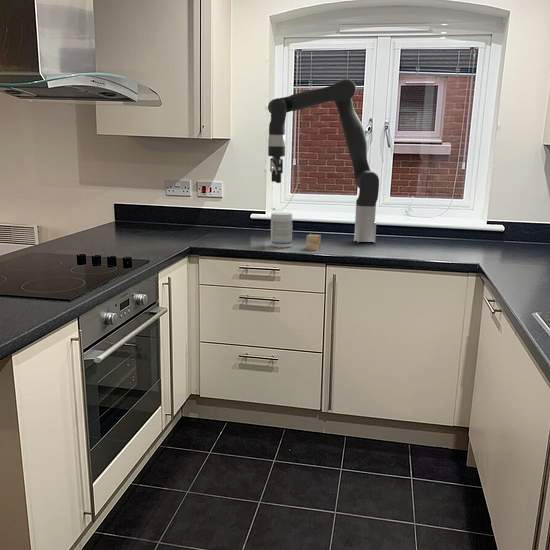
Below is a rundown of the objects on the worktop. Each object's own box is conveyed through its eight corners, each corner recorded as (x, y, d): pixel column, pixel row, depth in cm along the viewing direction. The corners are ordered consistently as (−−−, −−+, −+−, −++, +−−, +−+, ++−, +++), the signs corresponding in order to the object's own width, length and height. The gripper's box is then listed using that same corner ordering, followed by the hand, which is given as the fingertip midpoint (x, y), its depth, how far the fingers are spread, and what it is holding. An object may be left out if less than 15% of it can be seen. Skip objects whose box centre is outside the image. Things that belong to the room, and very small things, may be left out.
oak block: (309, 247, 260) (309, 234, 258) (320, 248, 258) (320, 235, 257) (305, 249, 255) (306, 235, 254) (316, 250, 254) (317, 236, 252)
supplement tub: (295, 247, 259) (296, 214, 256) (276, 248, 255) (277, 215, 252) (285, 243, 267) (286, 211, 264) (266, 245, 263) (267, 212, 260)
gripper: (288, 145, 253) (288, 183, 257) (281, 145, 267) (280, 181, 270) (271, 145, 252) (271, 183, 255) (265, 145, 265) (264, 181, 269)
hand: (276, 182), depth 263 cm, fingers open, 8 cm apart
